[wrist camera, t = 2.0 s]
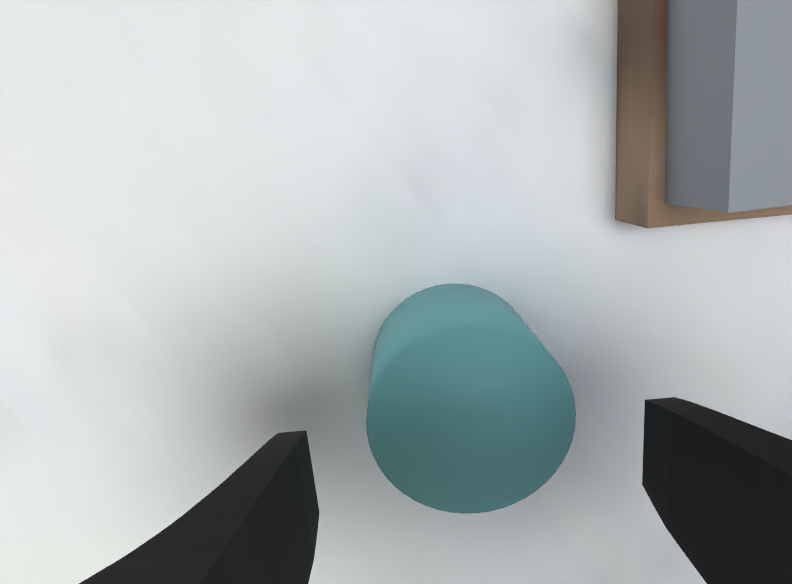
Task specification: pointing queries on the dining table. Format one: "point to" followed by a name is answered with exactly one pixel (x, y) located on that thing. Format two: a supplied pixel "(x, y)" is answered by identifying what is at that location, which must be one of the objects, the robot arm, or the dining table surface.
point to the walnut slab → (650, 124)
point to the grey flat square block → (729, 104)
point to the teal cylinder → (466, 402)
